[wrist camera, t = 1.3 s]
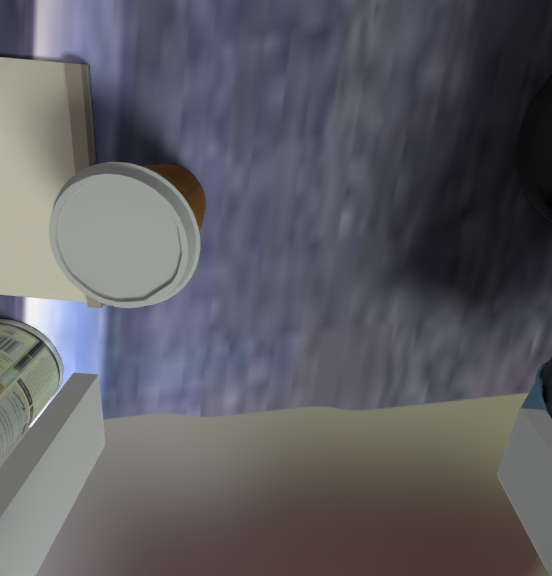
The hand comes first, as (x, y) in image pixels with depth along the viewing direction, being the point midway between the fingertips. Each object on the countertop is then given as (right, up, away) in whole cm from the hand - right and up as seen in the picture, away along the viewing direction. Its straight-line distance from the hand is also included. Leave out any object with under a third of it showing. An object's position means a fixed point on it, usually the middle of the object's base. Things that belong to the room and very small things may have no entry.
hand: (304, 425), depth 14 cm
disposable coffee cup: (-10, +12, +25) cm, 29 cm away
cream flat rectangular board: (-24, +13, +25) cm, 37 cm away
